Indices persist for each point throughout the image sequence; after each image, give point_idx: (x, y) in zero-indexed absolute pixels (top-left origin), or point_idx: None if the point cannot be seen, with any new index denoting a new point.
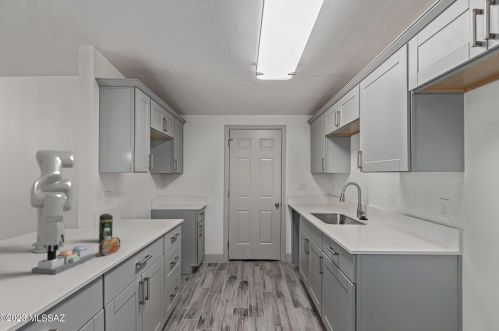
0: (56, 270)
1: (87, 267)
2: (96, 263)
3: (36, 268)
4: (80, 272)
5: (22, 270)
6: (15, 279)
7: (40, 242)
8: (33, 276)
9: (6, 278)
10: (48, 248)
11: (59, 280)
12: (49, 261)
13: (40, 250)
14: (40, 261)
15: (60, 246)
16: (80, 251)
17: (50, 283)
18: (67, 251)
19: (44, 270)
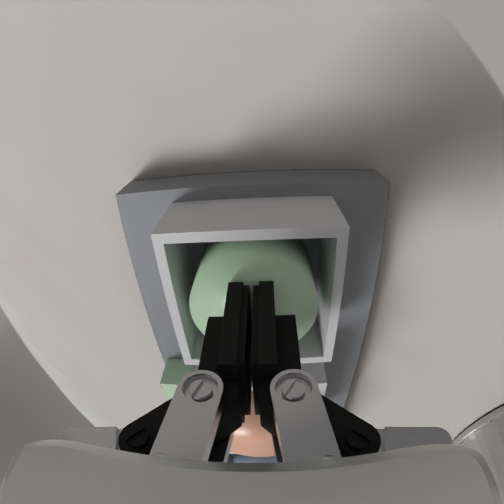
0: (121, 200)
1: (81, 331)
2: (107, 382)
3: (346, 190)
4: (30, 254)
5: (477, 215)
6: (369, 16)
7: (439, 489)
8: (280, 96)
9: (456, 42)
10: (275, 415)
11: (10, 102)
12: (220, 260)
13: (502, 416)
14: (330, 237)
15: (71, 435)
16: (237, 458)
17: (17, 43)
18: (251, 442)
19: (241, 181)
